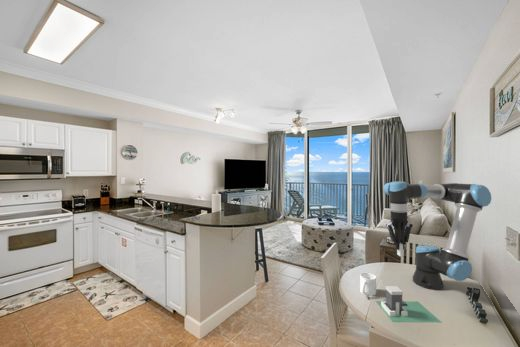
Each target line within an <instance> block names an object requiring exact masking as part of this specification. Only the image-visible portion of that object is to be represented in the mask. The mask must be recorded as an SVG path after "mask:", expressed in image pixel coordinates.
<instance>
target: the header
mask: <svg viewBox="0 0 520 347" xmlns="http://www.w3.org/2000/svg"><path fill="white" fill-rule="evenodd" d="M380 301H381V300H380ZM381 306H382V307H383V309H384V310H385V311H386V312H387V313H388V314H389V316H396V312H395V311H391V310H390V309H389V308H388V307H387V306H386V302H383V300H382V301H381ZM401 316H408V312H407V311H406V310H405V309H404V308H403V307H402V311H401Z"/></svg>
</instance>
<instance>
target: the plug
mask: <svg viewBox="0 0 520 347" xmlns="http://www.w3.org/2000/svg"><path fill="white" fill-rule="evenodd" d="M403 292H404V291H402V290H401V289H400V288H399V287H398V286H397V285H385V299H386V306H387V307H388V308H389V309H390V310H391V311H395V312H396V315H399V314H401V311H402V301H403Z"/></svg>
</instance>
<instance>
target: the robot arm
mask: <svg viewBox="0 0 520 347" xmlns="http://www.w3.org/2000/svg"><path fill="white" fill-rule="evenodd" d="M490 191H491V190H489V188H488V187H487V186H485V185H484V184H483V185H482V184H476V183H457V182H456V183H455V182H454V183H453V182H451V183H434V184H433V185H432V184H421V183H407V182H406V181H399V180H398V181H391V182H387V183H385V184H384V185H383V193H384V194H385V195H388V196H389V201H390V205H389V206H390V223H388V224H385V226H386V228H387V230H388V234H389V237H390V241H391V242H393V244H395V250H396V254H397V256H399V257H401V258H402V257H404V250H405V245H406V243H409V240H410V235H411V230H412V227H413V223H410V222H409V221H408V212H407V211H408V200H412V199H422V198H432V199H434V200H441V201H446V202H450V203H451V202H452V203H454V206H455V207H456V208H455V209H456V210H455V213H454V217H453V221H452V224H451V227H450V231H449V235H448V239H447V243H446V246H445V247H444V248H441V249H440V248H439V246H435V245H429V244H428V245H423V244H422V245H417V246H416V247H415V271H414V273H413V275H412V282H413V283H414V284H416V285H418V286H419V287H422V288H425V289H428V290H435V291H438V290H442V289H444V281H443V279H442V276H441V275H443V276H445V277H448V278H449V279H453V280H454V281H459V282H461V281H465V280H466V279H468V278H469V277H470V276H471V275H472V273H473V266H472V263H471V262H470V261H469V257H468V255H467V251H468V247H469V244H470V240H471V237H472V232H473V229H474V226H475V222H476V217H477V215H478V213H479V212H481V211H483V208H484V207H488V206H489V205H490V204H491V203H492V194H491V192H490Z"/></svg>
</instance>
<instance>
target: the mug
mask: <svg viewBox="0 0 520 347" xmlns="http://www.w3.org/2000/svg"><path fill="white" fill-rule="evenodd" d="M359 291H360V294H361V295H362V296H364V297H366V298H368V297H369V296H370V297H372V296H376V295H377V276H376V275H375V274H372V273H369V272H361V273H360V275H359Z"/></svg>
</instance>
